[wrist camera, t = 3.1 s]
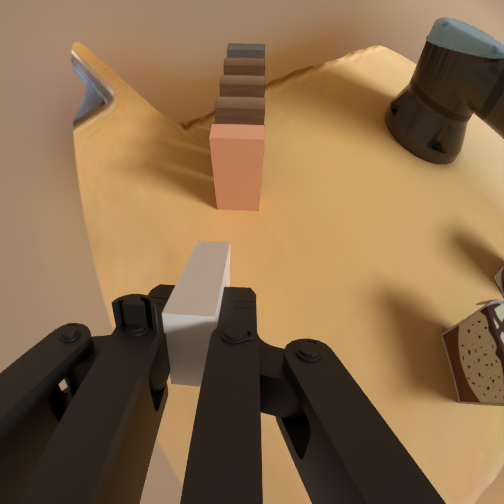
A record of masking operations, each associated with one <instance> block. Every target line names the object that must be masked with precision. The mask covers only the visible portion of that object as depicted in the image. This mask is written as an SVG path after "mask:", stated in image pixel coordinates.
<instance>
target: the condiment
mask: <svg viewBox="0 0 504 504" xmlns="http://www.w3.org/2000/svg"><path fill="white" fill-rule="evenodd" d="M494 279H495V281H496V283H497V285H498V287H499V288H500V290H501V292H502V294H503V295H504V265H503V266H502V268H501V269H500V270H499V271H498V272H497V274H496V275H495V276H494Z"/></svg>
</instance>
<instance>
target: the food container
mask: <svg viewBox="0 0 504 504" xmlns="http://www.w3.org/2000/svg"><path fill="white" fill-rule="evenodd" d="M481 304H485V305H484V306H483V307H482V308H480V309H479V310H477V311H476V312H474V313H473V314H471V315H470V316H468V317H467V318H465V319H464V320H462V321H461V322H459V323H458V324H456V325H455V326H453V327H452V328H450V329H448V330H447V331H445V332H443V333H442V334H440V335H441V338H442V341H443V345H444V348H445V351H446V355H447V358H448V362H449V365H450V369H451V373H452V377H453V381H454V385H455V389H456V393H457V397H458V402H459V403H464V404H477V405H493V406H504V300H497V299H495V300H488V301H483V302H480V303H477V304H476V305H481Z"/></svg>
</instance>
